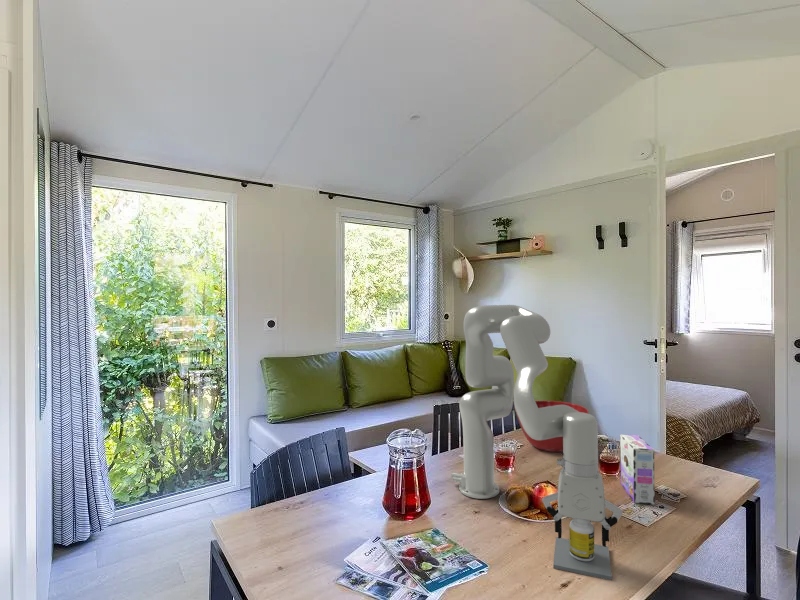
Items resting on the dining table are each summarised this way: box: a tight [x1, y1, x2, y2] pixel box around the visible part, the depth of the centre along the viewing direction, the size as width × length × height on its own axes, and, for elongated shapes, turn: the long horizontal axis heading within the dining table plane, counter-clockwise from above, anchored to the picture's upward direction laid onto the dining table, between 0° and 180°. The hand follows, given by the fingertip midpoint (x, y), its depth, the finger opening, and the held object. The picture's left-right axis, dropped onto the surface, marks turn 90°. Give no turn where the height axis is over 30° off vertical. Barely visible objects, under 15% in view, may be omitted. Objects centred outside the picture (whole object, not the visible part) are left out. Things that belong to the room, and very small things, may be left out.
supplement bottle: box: [568, 518, 595, 561], centre depth 102 cm, size 5×5×10 cm
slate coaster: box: [552, 536, 613, 581], centre depth 102 cm, size 12×12×1 cm
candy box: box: [619, 434, 656, 506], centre depth 134 cm, size 14×6×16 cm, turn 168°
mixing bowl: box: [514, 400, 590, 453], centre depth 176 cm, size 28×28×16 cm
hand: (581, 539), depth 102 cm, fingers open, 9 cm apart
